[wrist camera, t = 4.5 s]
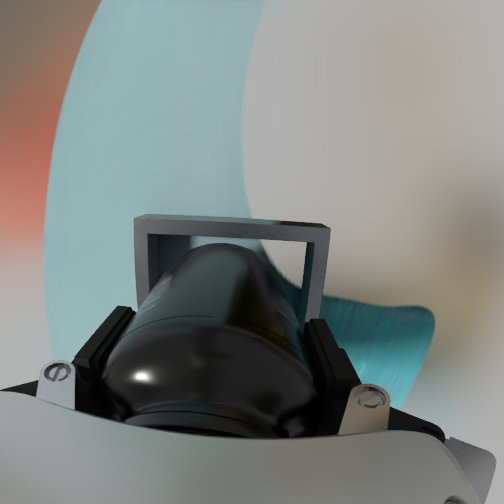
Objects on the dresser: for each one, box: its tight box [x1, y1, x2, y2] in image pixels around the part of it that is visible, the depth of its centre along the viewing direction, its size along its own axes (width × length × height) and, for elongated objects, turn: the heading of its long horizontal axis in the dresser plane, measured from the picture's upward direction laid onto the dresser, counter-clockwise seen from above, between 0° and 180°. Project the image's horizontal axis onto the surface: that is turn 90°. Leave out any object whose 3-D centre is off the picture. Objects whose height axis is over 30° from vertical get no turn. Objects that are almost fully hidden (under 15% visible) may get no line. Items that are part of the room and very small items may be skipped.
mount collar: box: [134, 214, 331, 334], centre depth 17 cm, size 11×11×2 cm
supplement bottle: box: [99, 243, 323, 438], centre depth 10 cm, size 7×7×12 cm
